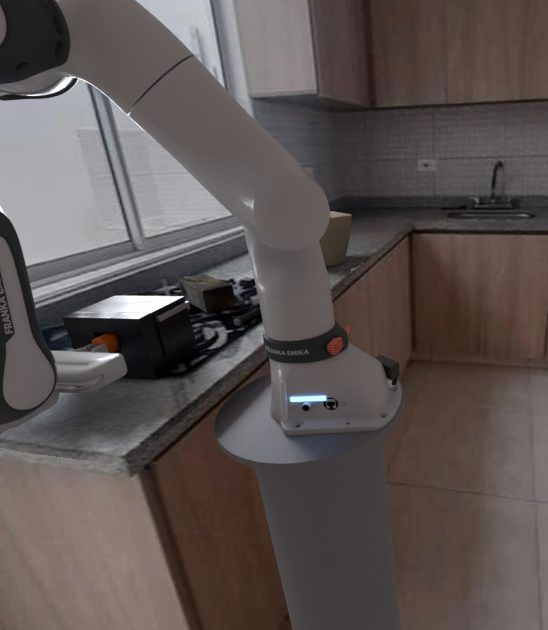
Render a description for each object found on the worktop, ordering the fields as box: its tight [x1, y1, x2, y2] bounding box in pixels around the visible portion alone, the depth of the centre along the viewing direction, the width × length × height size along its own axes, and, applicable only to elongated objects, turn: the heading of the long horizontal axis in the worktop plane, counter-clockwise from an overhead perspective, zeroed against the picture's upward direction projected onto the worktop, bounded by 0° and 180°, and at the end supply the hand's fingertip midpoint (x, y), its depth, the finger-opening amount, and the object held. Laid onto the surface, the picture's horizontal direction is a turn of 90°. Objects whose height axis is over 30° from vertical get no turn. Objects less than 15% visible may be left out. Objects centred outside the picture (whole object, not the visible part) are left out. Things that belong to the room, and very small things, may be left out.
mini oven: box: [61, 295, 199, 380], centre depth 85 cm, size 17×12×12 cm
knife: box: [232, 307, 262, 327], centre depth 111 cm, size 19×2×5 cm
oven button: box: [92, 333, 120, 353], centre depth 80 cm, size 4×3×4 cm
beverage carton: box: [178, 273, 237, 314], centre depth 119 cm, size 8×19×7 cm, turn 44°
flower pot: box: [319, 210, 353, 268], centre depth 152 cm, size 19×19×17 cm
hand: (100, 347), depth 78 cm, fingers closed
